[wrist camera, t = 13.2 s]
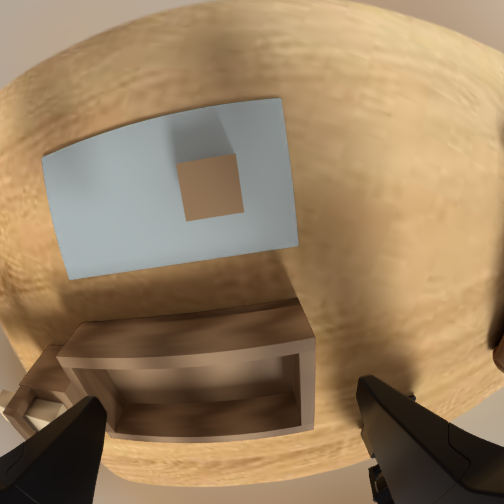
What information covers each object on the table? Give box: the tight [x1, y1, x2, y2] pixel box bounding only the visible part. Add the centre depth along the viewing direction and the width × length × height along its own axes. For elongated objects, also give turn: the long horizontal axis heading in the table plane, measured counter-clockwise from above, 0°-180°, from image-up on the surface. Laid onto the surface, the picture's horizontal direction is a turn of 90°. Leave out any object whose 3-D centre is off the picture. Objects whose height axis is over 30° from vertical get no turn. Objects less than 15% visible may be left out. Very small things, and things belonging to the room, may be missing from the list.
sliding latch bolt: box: [0, 390, 67, 432], centre depth 14 cm, size 9×2×2 cm, turn 98°
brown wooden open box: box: [3, 298, 315, 443], centre depth 17 cm, size 24×10×10 cm, turn 98°
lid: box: [42, 98, 299, 280], centre depth 15 cm, size 18×10×4 cm, turn 98°
